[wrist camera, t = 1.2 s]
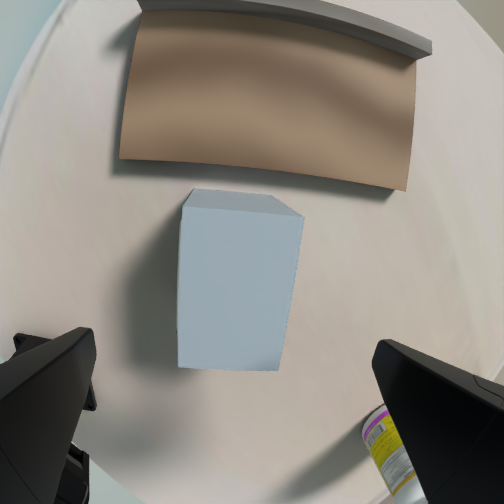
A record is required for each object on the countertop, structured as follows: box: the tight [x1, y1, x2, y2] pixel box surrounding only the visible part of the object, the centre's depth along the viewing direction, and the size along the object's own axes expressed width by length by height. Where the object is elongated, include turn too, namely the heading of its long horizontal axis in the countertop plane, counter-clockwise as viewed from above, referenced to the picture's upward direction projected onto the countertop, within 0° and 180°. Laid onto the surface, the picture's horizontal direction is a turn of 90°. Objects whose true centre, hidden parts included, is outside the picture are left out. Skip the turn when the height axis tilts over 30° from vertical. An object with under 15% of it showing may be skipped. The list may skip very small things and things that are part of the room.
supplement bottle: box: [362, 405, 428, 504], centre depth 20 cm, size 7×7×13 cm
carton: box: [176, 188, 304, 371], centre depth 16 cm, size 5×7×7 cm
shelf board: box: [119, 0, 432, 192], centre depth 15 cm, size 10×17×3 cm, turn 84°
